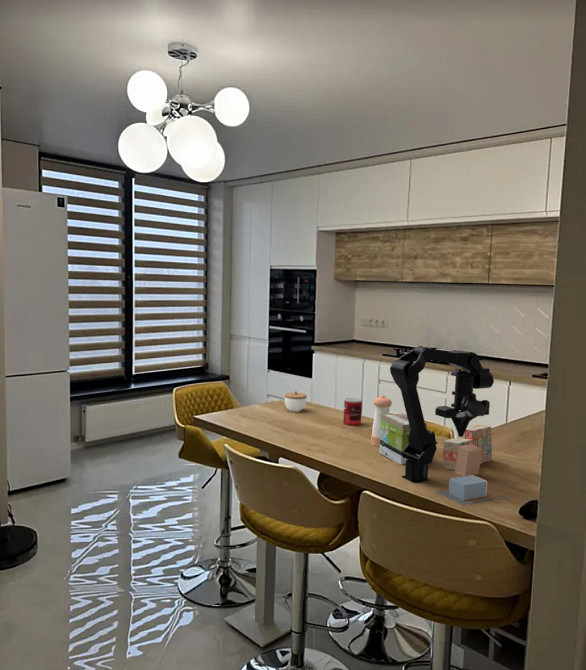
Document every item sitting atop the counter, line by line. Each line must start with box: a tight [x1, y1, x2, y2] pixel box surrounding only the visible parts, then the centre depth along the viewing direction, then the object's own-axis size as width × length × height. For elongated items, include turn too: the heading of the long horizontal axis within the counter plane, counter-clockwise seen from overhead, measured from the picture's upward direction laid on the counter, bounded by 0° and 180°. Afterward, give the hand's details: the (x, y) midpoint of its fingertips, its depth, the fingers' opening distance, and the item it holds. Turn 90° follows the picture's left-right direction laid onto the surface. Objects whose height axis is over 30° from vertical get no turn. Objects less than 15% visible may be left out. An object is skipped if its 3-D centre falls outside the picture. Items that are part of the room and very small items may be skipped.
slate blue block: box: [448, 475, 488, 501], centre depth 165 cm, size 4×6×9 cm
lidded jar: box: [284, 390, 307, 413], centre depth 272 cm, size 11×11×9 cm
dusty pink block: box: [454, 444, 482, 476], centre depth 185 cm, size 4×6×9 cm
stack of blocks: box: [442, 424, 493, 471], centre depth 196 cm, size 21×6×12 cm, turn 132°
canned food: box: [343, 397, 363, 427], centre depth 250 cm, size 8×8×11 cm
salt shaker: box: [370, 395, 393, 447], centre depth 217 cm, size 7×7×19 cm
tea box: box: [379, 413, 428, 465], centre depth 200 cm, size 15×10×15 cm, turn 22°
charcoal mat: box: [434, 489, 510, 507], centre depth 166 cm, size 18×12×1 cm, turn 117°
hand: (460, 436), depth 185 cm, fingers closed
